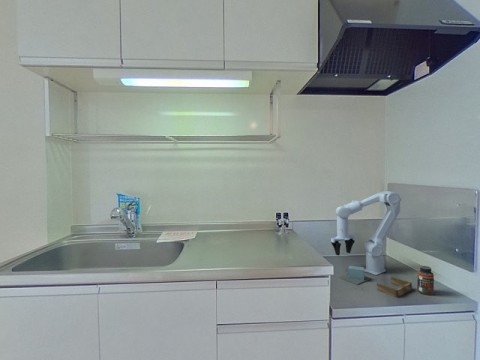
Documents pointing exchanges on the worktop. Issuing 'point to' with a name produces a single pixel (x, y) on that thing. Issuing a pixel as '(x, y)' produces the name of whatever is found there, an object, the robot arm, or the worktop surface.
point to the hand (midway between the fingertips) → (343, 253)
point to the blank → (356, 272)
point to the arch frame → (398, 292)
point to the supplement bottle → (425, 281)
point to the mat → (355, 281)
